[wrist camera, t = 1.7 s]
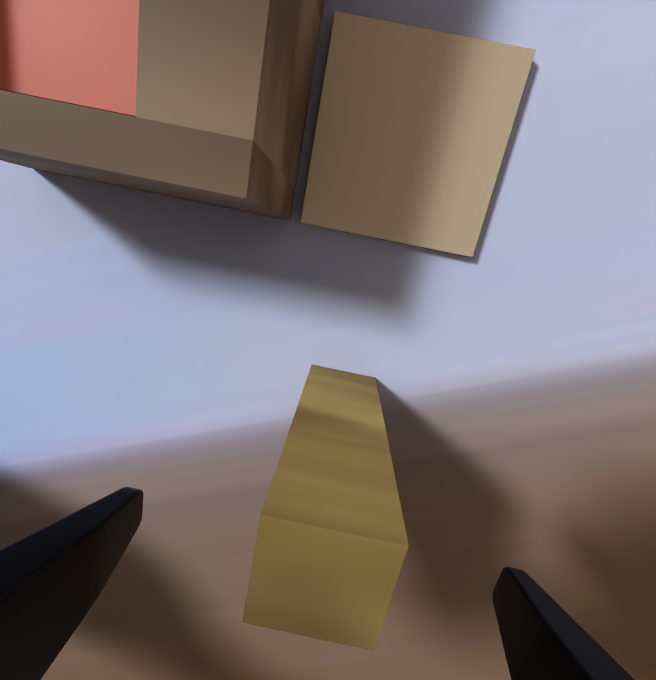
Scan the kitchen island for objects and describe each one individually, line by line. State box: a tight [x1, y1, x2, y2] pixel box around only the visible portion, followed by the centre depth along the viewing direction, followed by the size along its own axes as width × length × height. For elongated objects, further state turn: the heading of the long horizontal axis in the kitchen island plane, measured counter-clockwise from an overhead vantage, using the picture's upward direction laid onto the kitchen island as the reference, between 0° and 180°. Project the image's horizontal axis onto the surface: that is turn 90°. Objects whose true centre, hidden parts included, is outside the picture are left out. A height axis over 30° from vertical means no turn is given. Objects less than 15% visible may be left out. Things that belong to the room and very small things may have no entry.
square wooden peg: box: [242, 365, 409, 651], centre depth 11 cm, size 3×3×9 cm
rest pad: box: [301, 11, 536, 257], centre depth 12 cm, size 7×7×1 cm
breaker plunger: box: [0, 0, 139, 117], centre depth 9 cm, size 5×5×2 cm
